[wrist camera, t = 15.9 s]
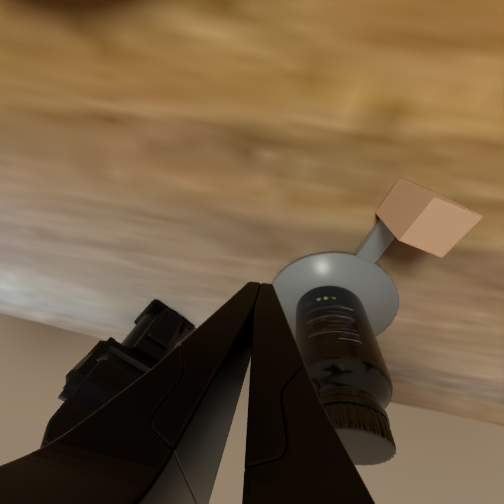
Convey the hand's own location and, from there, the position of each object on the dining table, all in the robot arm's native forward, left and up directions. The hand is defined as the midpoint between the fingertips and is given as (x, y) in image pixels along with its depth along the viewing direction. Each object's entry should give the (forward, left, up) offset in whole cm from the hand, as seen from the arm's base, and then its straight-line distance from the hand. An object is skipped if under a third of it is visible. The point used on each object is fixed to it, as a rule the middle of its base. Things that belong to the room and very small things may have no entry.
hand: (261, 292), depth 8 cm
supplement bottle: (-5, -12, -13) cm, 18 cm away
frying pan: (-3, -10, -13) cm, 17 cm away
